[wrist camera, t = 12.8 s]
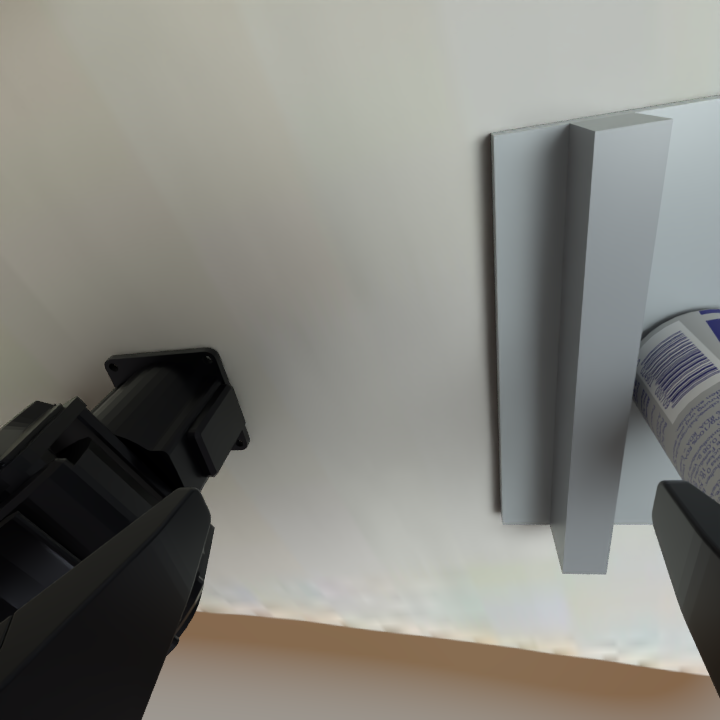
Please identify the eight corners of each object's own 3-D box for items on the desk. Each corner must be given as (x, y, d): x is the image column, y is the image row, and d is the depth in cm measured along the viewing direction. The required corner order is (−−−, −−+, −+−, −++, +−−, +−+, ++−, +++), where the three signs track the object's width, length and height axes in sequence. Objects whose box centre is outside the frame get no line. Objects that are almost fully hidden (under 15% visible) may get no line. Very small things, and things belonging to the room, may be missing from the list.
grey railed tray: (500, 510, 27) (509, 572, 24) (490, 133, 17) (504, 146, 14) (826, 508, 24) (891, 580, 20) (1044, 40, 14) (1240, 27, 10)
